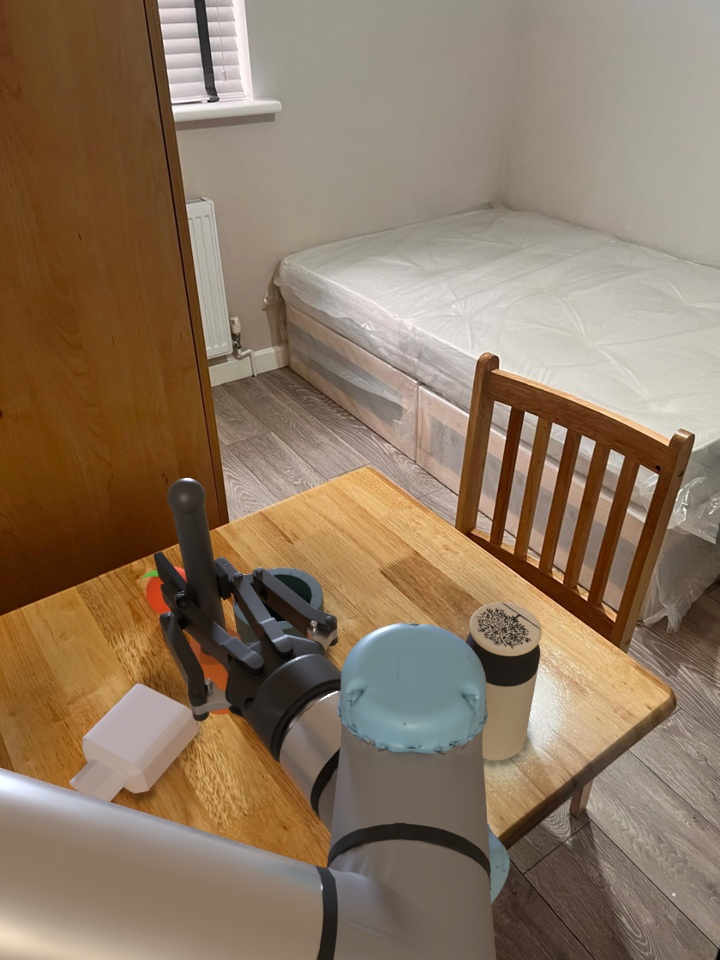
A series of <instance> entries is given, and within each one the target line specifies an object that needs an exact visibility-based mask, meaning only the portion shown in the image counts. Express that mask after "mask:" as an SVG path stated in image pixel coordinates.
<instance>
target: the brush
mask: <svg viewBox="0 0 720 960" xmlns="http://www.w3.org/2000/svg"><path fill="white" fill-rule="evenodd" d="M166 501H167V505H168V506H169V508H170V509H171V514H172V517H173V522H174V526H175V532H176V536H177V541H178V547H179V552H180V556H181V560H182V565H183V569H184V570H185V575H186V580H187V583H188V585H189V586H190V587H191V588H192V589H193V591H194V596H195V601H196V606H197V607H198V608H199V609H201V610H202V611H203V612H204V613H205V614H206V615H207V616H209V617H210V618H211V619H212V620H213V621H214V622H215V623H217V624H218V625H219V626H220V627H221V628H222V629H223V630H224V631H226V632H227V633H228V634H229V635H230V636H231V637H234V636H235V637H237V638H238V639H239V640H240V641H241V639H240V637H239V635H238V634H237V631H235V630H234V629H233V628H231V627H227V624H226V618H225V612H224V607H223V601H222V600H223V599H222V598H221V594H220V589H219V583H218V577H217V572H216V566H215V560H214V559H215V555H214V549H213V544H212V537H211V531H210V527H209V521H208V515H207V508H206V501H207V494H206V490H205V488H204V487H203V485H202V484H201V483H200V482H199V481H197V480H195V479H193V478H191V477H189V478H188V477H186V478H185V477H184V478H179V479H177V480H175V481H174V482H173V483H172V484H171V485H170V486H169V487H168V490H167V494H166ZM189 644H190V646H191V648H192V650H193V652H194V654H195V656H196V657H197V659H198V661H199V663H200V665H201V667H202V669H203V672H204V677H205V679H207V678H209V679H211V681H212V682H214V683H216V685H217V687H218V688H219V689H220V690H226V684H227V678H228V673H227V672H226V670H225V668H224V666H223V665H222V664H220V663H219V662H218V661H217V660H216V659H215V658H214V657H213V656H212V655H211V654H210V653H209V652H208V651H207V650H205V649H204V648H203V647H202V646H201V645H200V644H199V643H198V642H197V641H196V640H195V639H194V638H193V637H192V639H191V640H190V642H189ZM209 714H213V715H221V716H222V715H228V714H232V713H231V712H230V711H229V709H222V710H216V711H210V712H209Z"/></svg>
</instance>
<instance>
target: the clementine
mask: <svg viewBox="0 0 720 960" xmlns="http://www.w3.org/2000/svg"><path fill="white" fill-rule="evenodd" d="M174 567H175V569H176V570H177V571H178V572H179V574H180V575H181V576H182V577H183V578H184V580H185V581H186V582H187V580H186V575H185V570H184V568H181V567H179V566H174ZM148 577H150V578H149V579H148V581H147V585H146V587H145V597H146V600H147V603H148V604H149V606H150V608H152V610H154V611H155V613H157V614H160V615H161V614H163V613H165V612H171V610H170V609H169V607H168V606H167V605H166V603H165V602H164V601H163V596H162V592H161V586H160V585H161V584H163V582H162V581H161V579H160V578H159V576H158V572H157V569H155V570H151V571H149V572H147V573H145V574H144V575H143V576H142V577H141V579H140V581H139V584H141V581H142V580H143V579H144V578H148Z"/></svg>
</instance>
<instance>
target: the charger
mask: <svg viewBox="0 0 720 960" xmlns="http://www.w3.org/2000/svg"><path fill="white" fill-rule="evenodd" d="M199 732H200V730H199V726H198V721H196V720H195V719H194V718H193V714H192V710H191V708H189V707H188V706H186V705H184V704H183V703H181V702H179V701H176V700H175V699H173V698H170V697H169V696H167V695H165V694H163V693H161V692H159V691H157V690H154V689H152V688H151V687H148V686H147V685H144V684H142V683H137V682H136V684H134V685H133V687H132V688H131V689H129V691H128V692H126V693H125V695H123V696H122V698H121V699H120V700H119V701H117V703H116V704H114V706H113V707H112V708H111V709H109V710H108V712H106V713H105V715H104V716H103V717H101V719H100V720H99V721H97V723H96V724H95V725H94V726H92V728H91V729H90V730H89V731H88V732H87V733H86V734H85V735H84V736H83V737H81V739H82V740H81V750H82V752H83V755H84V758H85V761H86V762H87V763H85V765H84V766H83V767H82V768H81V769H80V770H79V771H78V772H77V773H76V774H75V775H74V776H73V777H72V778H71V779H70V780H69V782H68V784H69V785H70V786H71V788H73V789H74V790H75V791H77V792H80V793H83V794H86V795H89V796H93V797H96V798H99V799H102V800H106V801H109V802H111V801H112V800H113V799H114V798H115V797H116V796H117V794H118V793H119V792H120V791H121V790H122V789H123V788H124V789H126V790H127V791H129V792H131V793H133V794H139V793H144V792H149V791H150V790H151V788H152V787H153V786H154V785H155V784H156V782H157V781H158V780H159V779H160V778H161V777H162V776H163V774H164V773H165V772H166V771H167V770H168V769H169V768H170V766H171V765H172V764H173V763H174V762H175V761H176V759H177V758H178V757H179V756H180V755H181V754H182V752H183V751H184V750H185V749H186V747H188V746H189V744H190V743H192V741H193V739H194V738H195V737H196V736H198V734H199Z"/></svg>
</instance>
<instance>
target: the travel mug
mask: <svg viewBox="0 0 720 960" xmlns="http://www.w3.org/2000/svg"><path fill="white" fill-rule="evenodd" d="M469 630H470V631H469V633H468V635H467V636H466V639H465V642H466V643H467V644H468V645H469V646H470V647H471V648H472V650H473V651H474V652H475V653H476V655H477V657H478V658H479V660H480V662H481V664H482V666H483V669H484V673H485V677H486V697H485V698H486V700H487V702H486V707H487V712H488V718H487V723H486V724H485V725H484V726H483V739H482V746H483V760H487V761H504V760H508V759H511V758H513V757H514V756H516V755H517V754H518V753H520V752H521V750H522V749H523V748H524V746H525V744H526V739H527V734H528V728H529V723H530V717H531V710H532V705H533V700H534V694H535V688H536V682H537V676H538V671H539V666H540V661H541V648H540V644H539V643H540V642H541V639H542V635H543V634H542V633H543V632H542V626H541V624H540V621H539V619H538V618H536V615H534V614H533V613H532V612H531V611H530V610H528V609H527V608H525V607H523V606H521V605H518V604H515V603H513V602H505V601H496V602H491V603H487V604H484V605H482V606H481V607H479V608H477V609H476V610H475V611H474V612H473V614H472V615H471V617H470V620H469Z"/></svg>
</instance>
